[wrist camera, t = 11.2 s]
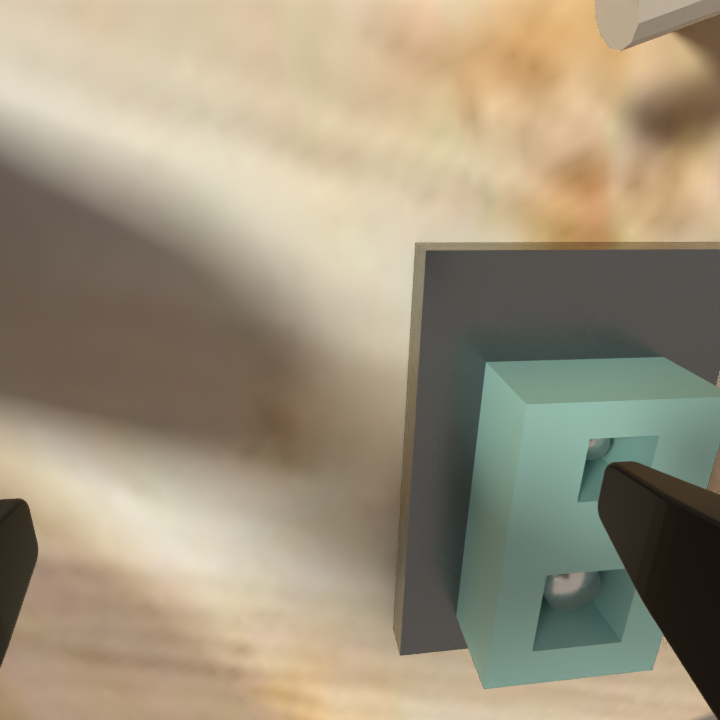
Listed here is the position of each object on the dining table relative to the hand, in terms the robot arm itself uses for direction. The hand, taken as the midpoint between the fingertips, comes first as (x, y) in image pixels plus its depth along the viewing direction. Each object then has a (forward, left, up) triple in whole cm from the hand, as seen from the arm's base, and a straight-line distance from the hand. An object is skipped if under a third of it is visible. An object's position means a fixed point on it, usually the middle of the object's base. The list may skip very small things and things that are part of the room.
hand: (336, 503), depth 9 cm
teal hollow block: (+10, -8, -10) cm, 17 cm away
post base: (+10, -7, -12) cm, 17 cm away
